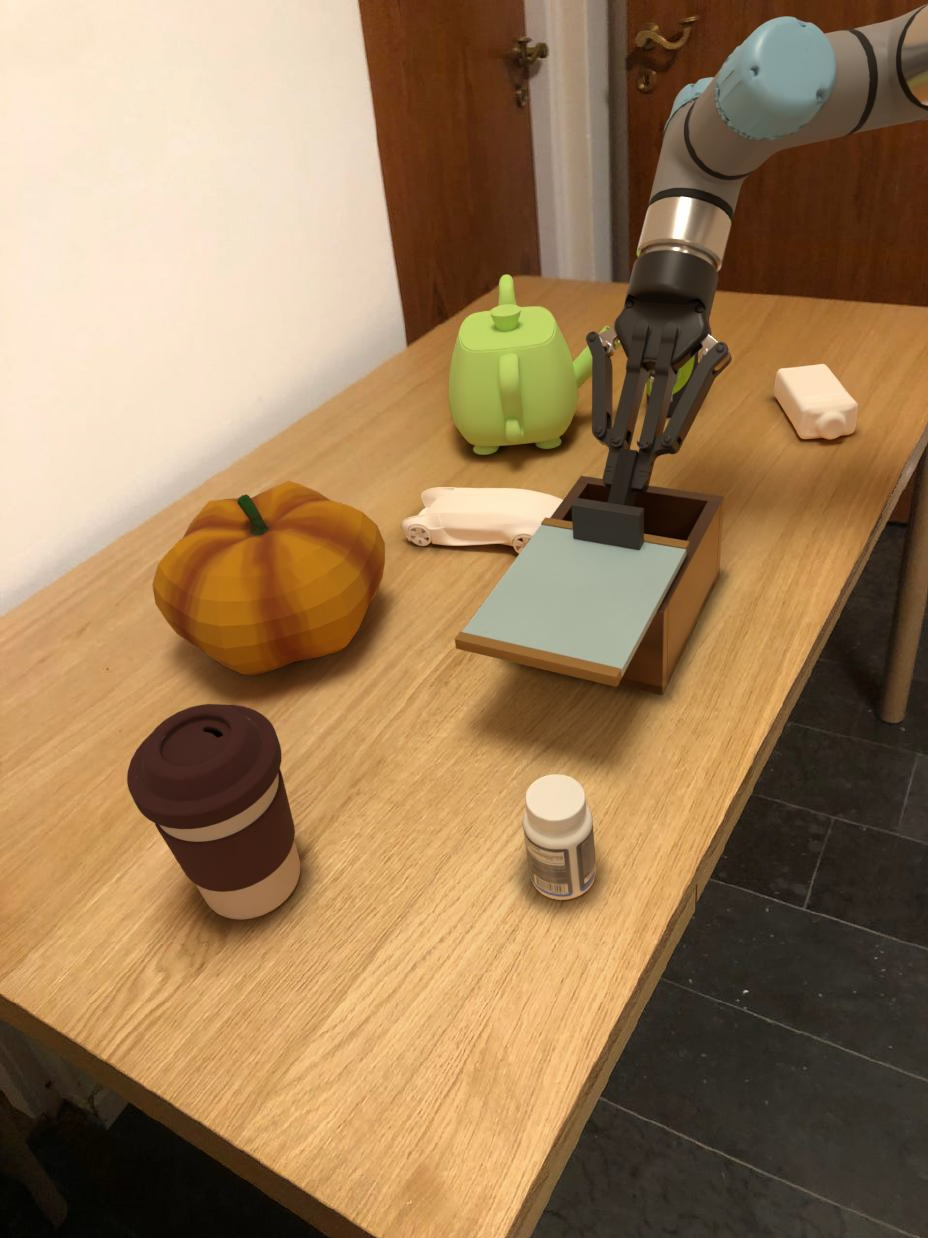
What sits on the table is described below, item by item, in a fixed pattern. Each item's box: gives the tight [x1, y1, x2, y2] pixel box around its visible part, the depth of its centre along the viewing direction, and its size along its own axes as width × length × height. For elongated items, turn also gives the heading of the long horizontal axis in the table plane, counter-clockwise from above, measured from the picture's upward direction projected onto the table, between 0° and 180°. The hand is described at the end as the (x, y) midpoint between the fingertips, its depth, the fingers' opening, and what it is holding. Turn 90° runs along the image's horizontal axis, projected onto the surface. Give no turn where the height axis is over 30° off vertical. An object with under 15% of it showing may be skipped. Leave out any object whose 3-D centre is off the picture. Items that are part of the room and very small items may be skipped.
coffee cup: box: [126, 703, 301, 920], centre depth 67 cm, size 10×10×15 cm
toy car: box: [399, 486, 564, 555], centre depth 103 cm, size 18×8×4 cm, turn 70°
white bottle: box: [773, 363, 859, 440], centre depth 113 cm, size 6×13×4 cm, turn 1°
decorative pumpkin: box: [151, 480, 386, 676], centre depth 90 cm, size 20×22×15 cm
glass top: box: [454, 498, 689, 688], centre depth 77 cm, size 13×18×4 cm
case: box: [550, 475, 725, 696], centre depth 87 cm, size 14×18×9 cm
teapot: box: [447, 274, 622, 456], centre depth 118 cm, size 25×22×16 cm
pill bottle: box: [522, 773, 597, 901], centre depth 66 cm, size 5×5×8 cm
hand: (615, 525), depth 83 cm, fingers closed
